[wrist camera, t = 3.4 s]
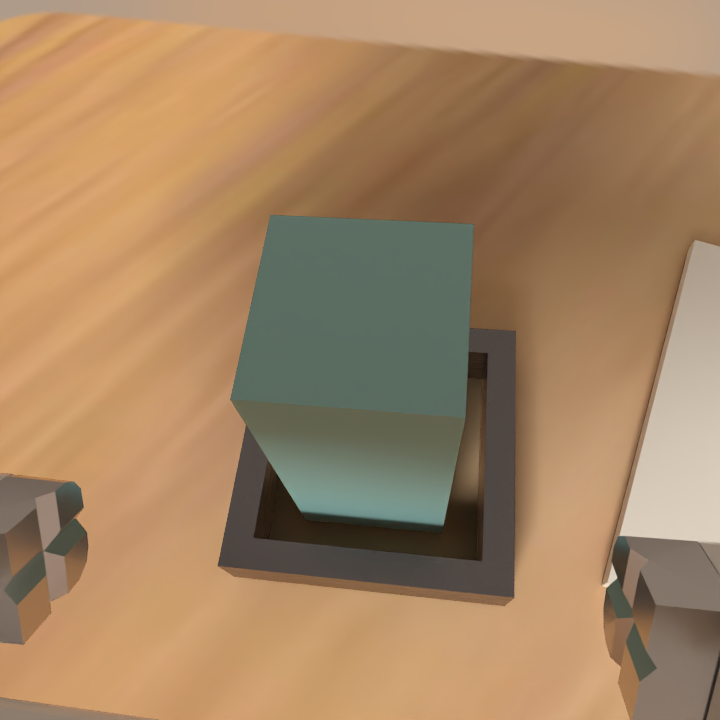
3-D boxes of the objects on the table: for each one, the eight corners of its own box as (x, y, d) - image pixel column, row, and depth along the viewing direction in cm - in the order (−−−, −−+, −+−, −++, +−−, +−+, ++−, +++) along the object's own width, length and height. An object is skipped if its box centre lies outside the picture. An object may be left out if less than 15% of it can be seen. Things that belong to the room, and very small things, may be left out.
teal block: (305, 520, 19) (230, 399, 11) (324, 395, 21) (270, 214, 13) (441, 533, 19) (465, 417, 11) (448, 405, 20) (474, 224, 12)
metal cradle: (234, 576, 18) (217, 565, 17) (278, 343, 22) (268, 315, 20) (504, 605, 18) (513, 597, 16) (507, 358, 21) (515, 330, 19)
